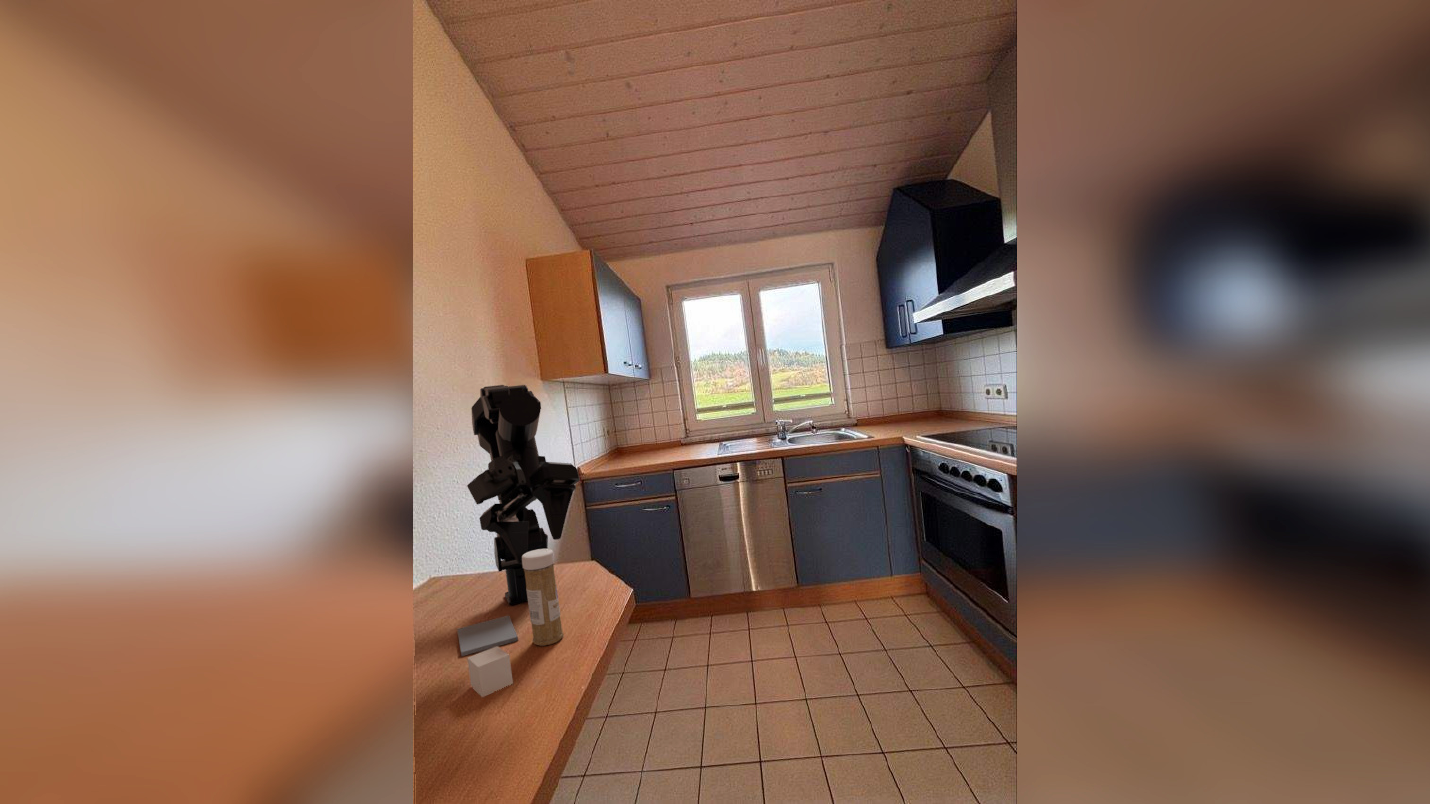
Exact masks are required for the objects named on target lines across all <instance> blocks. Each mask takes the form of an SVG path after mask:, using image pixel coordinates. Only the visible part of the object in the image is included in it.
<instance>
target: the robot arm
mask: <svg viewBox="0 0 1430 804" xmlns="http://www.w3.org/2000/svg"><path fill="white" fill-rule="evenodd" d="M479 393H480V396H479V398H478V399H477V400H476V401H475V403H474V404H473V405H472V406H471V407H470V408H471V423H472V424H471V426H472V430H473V435H474V436H477V440H478V444H479V446H480V447H481V448H482V449H483V450H484V451H485V452H487V453H488V454H489V457H490V460H491V461H490V462H489V463H488V464H487V467H488V468H487V469H485V470H484V471H483V472H482V473H480V474H479V475H477V476H476V477H475V478H474V479H472V480H471V482H468V484H467V485H466V487H467V489H468V491H469V493H470V495H471V496H472V498H473V500H474V502H475V504H476V505H481V504H483V503H484V502H485V501H488V500H490V499H493V498H495V497H497V499H498V501H499V503H494V504H492V505H491V506H490V507H489V508H488V509H486V510H485V511H484V512H483V513H482V514H481V516H480V517H479V522H480V528H481V530H482V531H488V532H489V533H495V534H496V537H495V536H494V537H493V549H494V551H493V552H494V554H493V555H494V560H495V565H496V568H497V570H498V572H502V571H505V576H506V577H505V579H506V583H507V591H506V592H504V597H505V599H506V600H507V604H508V605H509V606H514V605H517V604H521V603H525V602H528V598H527V590H526V588H527V586H526V578H525V572H524V568H523V565H522V556H523V555H524V554H525V553H527V552H529V551H533V550H537V549H549V548H548V547H549V537H548V536H549V535H548V534H547V533H546V532H545V530H544V528H543V527H540V523H539V520H538V516H537V514H536V511H534V509H533V508H530V509H528V508H527V507H528V506H529V505H530V504H531V503H533V502H534V501H536V500H537V501H539V502H540V503H541V506H542V509H543V511H544V516H545V519H546V522H547V523H546V524H547V526H548V529H549V532H550V534H551V537H552V539H553V540H554V541H555V540H556V541H557V540H560V539H561V538H562V536H563V535H562V534H563V531H564V525H565V521H566V519H567V514H568V511H569V506H570V503H571V500H572V497H573V494H574V492H575V490H576V488H577V486H576V484H577V483H579V482H580V481H581V479H580V475H579V470H578V468H577V467H576V466H574V465H573V464H572V463H569V462H554V461H547V460H546V456H544V455H543V456H542V455H539V450H538V446H537V441H536V437H535V436H536V435H537V431H538V426H539V422H540V415H541V410H542V404H541V403H542V402H541V401H540V400H539V399H538V397H536V396H535V394H534V393H533V391H532V390H529V388H528V386H527V385H526V384H519V385H511V386H508V385H504V384H499V385H490V386H489V385H488V386H484V387H483V388H482V387H480V390H479Z"/></svg>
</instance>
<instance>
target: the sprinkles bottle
mask: <svg viewBox="0 0 1430 804" xmlns="http://www.w3.org/2000/svg"><path fill="white" fill-rule="evenodd" d="M554 563H555V555H554V550H553V549H551V548H548V549H537V550H533V551H529V552H527V553H525V554H524V555H523V556H522V565H523V568H524V572H525V578H526V586H527V588H526V590H527V598H528V601H527V603H528V612H529V618H530V620H529V621H530V623H531V630H532V644H534V645H537V646H541V647H543V646H549V645H553V644H555V643H557V642H559V641H560V640H562V639H563V637H564V632H563V628H562V620H561V610H560V603H559V602H560V601H559V595H558V588H557V582H556V574H555V566H554V565H555V564H554Z"/></svg>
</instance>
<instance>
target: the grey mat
mask: <svg viewBox="0 0 1430 804" xmlns="http://www.w3.org/2000/svg"><path fill="white" fill-rule="evenodd" d="M456 631H457V637H458V642H459V649H460V654H461V657H465V656H467V655H472V654H474V653H476V654H477V653H478V652H479V653H480V652H484V651H486V650H489V649H491V648H494V647H496V646H498V647H499V646H504V645H507V644H511V643H515V642H518V641H519V637H518V634H517V631H516V629H515V627H514V625H513V622H512V620H511V617H510V615H509V614H508V615H505V616H501V617H497V618H493V619H489V620H486V621H481V622H477V623H474V624H471V625H467V626H463V627H459V628H457V630H456Z"/></svg>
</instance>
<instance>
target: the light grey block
mask: <svg viewBox="0 0 1430 804" xmlns="http://www.w3.org/2000/svg"><path fill="white" fill-rule="evenodd" d="M467 664H468V665H467V666H468V672H469V673H468V674H469V682H470V687H471V686H472V687H473V688H472V687H471V688H472V690H474V691H475V692H476V693H477V694H478V695H479V696H480V697H481V698H484V697H486V696H488V695H491V694H493V693H495V692H494V691H496V692H498V691H500V690H502V688H503V689H505V688H507V687H509V686H512V685H513V684H514V679H513V674H512V673H513V672H512V665H511V659H510V654H509V653H508V652H506V651H504V649H502V648H500V647H499V646H496V647H493V648H490V649H486V650H483V651H480V652H479V653H478V652H477V653H476V654H474V655H471V656H468V657H467ZM511 684H512V685H511ZM508 685H509V686H508ZM506 686H507V687H506ZM504 687H505V688H504ZM499 689H500V690H499ZM497 690H498V691H497Z"/></svg>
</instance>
